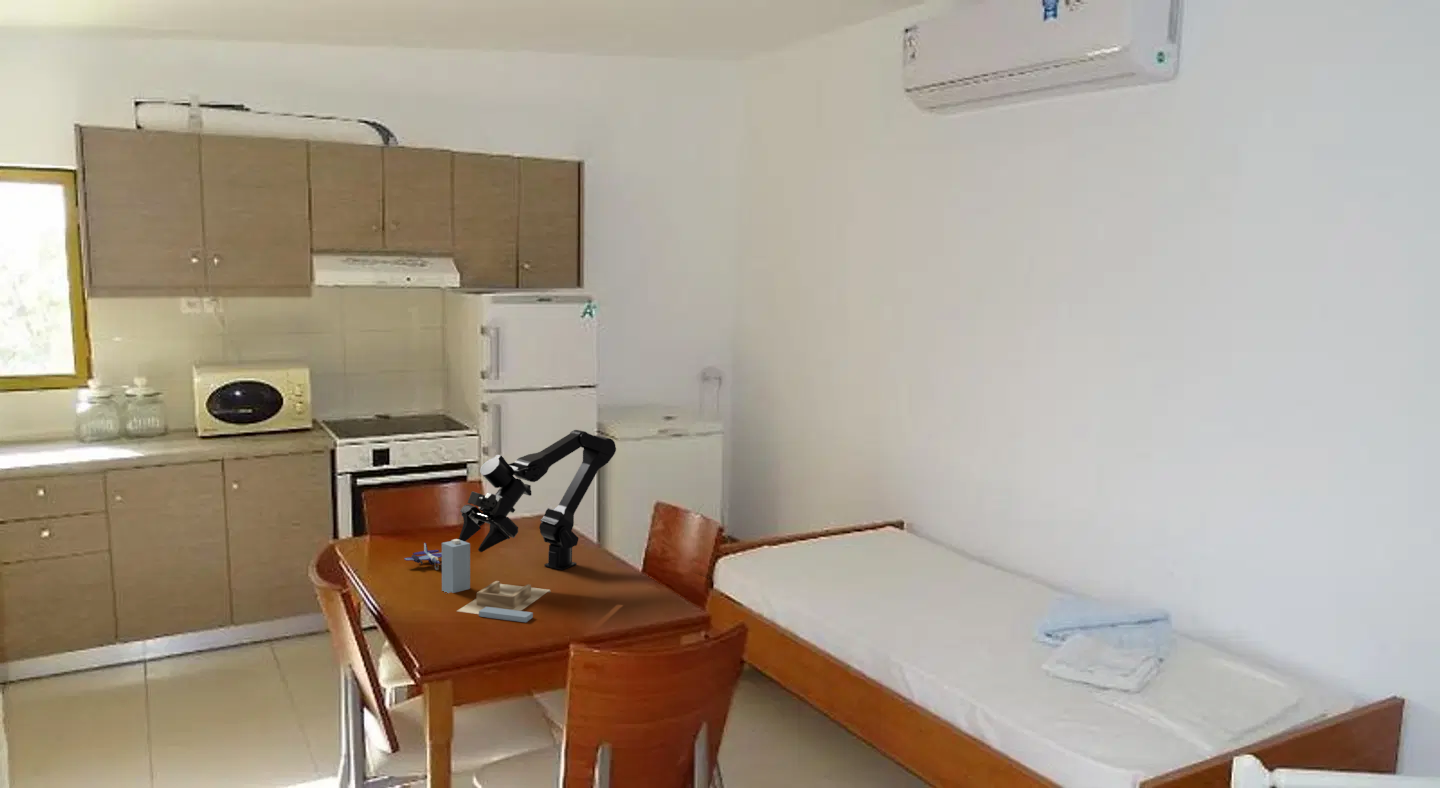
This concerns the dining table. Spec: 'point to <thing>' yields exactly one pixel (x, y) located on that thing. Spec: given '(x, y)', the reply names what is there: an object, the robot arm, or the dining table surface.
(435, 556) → the toy airplane
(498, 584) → the jig
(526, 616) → the light blue bar
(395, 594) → the dining table surface
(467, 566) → the blue-grey rectangular block
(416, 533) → the dining table surface
